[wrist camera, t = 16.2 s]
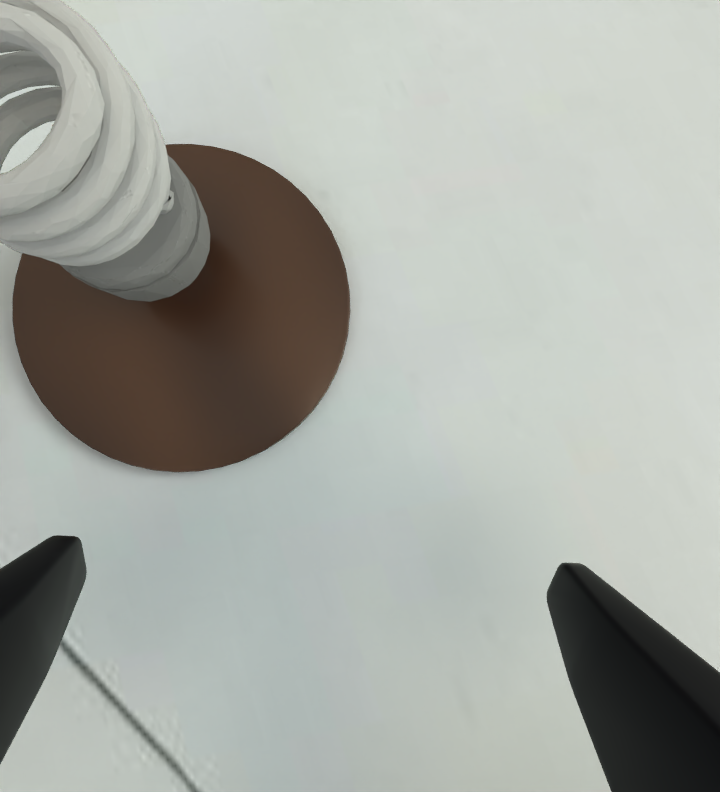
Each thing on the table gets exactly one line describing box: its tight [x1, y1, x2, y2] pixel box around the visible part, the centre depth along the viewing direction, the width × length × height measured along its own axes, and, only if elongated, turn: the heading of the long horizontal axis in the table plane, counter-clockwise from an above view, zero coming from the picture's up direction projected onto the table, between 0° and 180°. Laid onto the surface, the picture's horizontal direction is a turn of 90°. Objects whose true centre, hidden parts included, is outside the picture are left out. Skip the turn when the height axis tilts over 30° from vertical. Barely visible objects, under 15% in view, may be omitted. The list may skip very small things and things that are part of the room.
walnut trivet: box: [13, 144, 350, 472], centre depth 21 cm, size 15×15×1 cm
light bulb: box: [0, 0, 210, 302], centre depth 14 cm, size 6×6×12 cm
